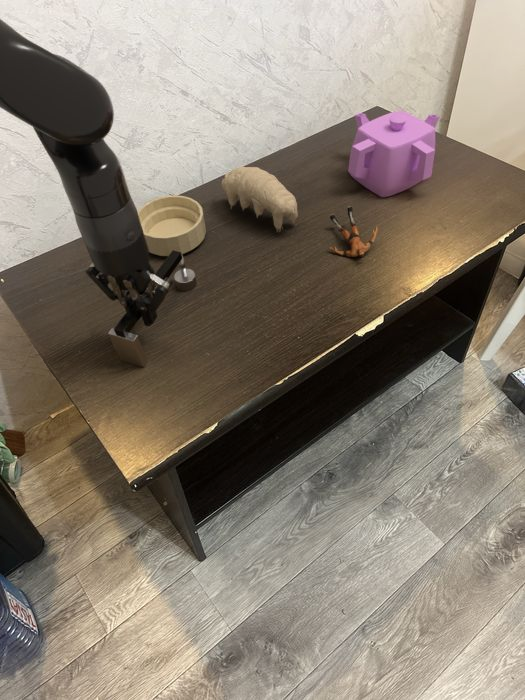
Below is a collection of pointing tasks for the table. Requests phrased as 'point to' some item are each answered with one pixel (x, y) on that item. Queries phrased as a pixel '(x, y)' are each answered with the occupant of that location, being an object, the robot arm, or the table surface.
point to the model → (260, 193)
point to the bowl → (172, 224)
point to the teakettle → (392, 152)
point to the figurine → (352, 238)
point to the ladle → (120, 336)
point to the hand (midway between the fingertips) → (143, 319)
